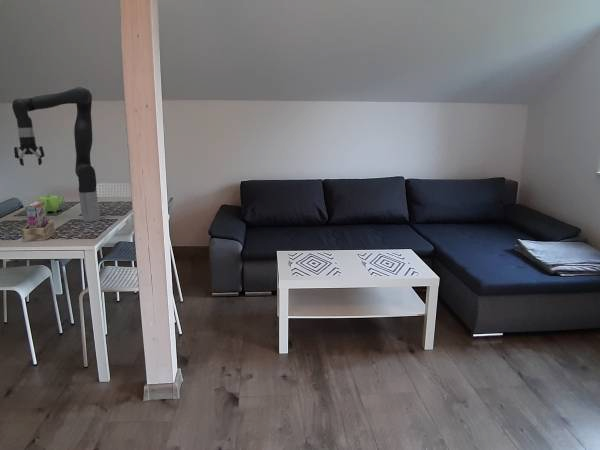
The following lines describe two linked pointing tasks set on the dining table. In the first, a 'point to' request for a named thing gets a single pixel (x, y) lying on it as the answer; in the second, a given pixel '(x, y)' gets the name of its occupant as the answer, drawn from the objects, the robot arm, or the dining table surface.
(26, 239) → the crate
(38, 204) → the candy bar box
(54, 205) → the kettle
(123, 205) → the dining table surface
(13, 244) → the dining table surface
